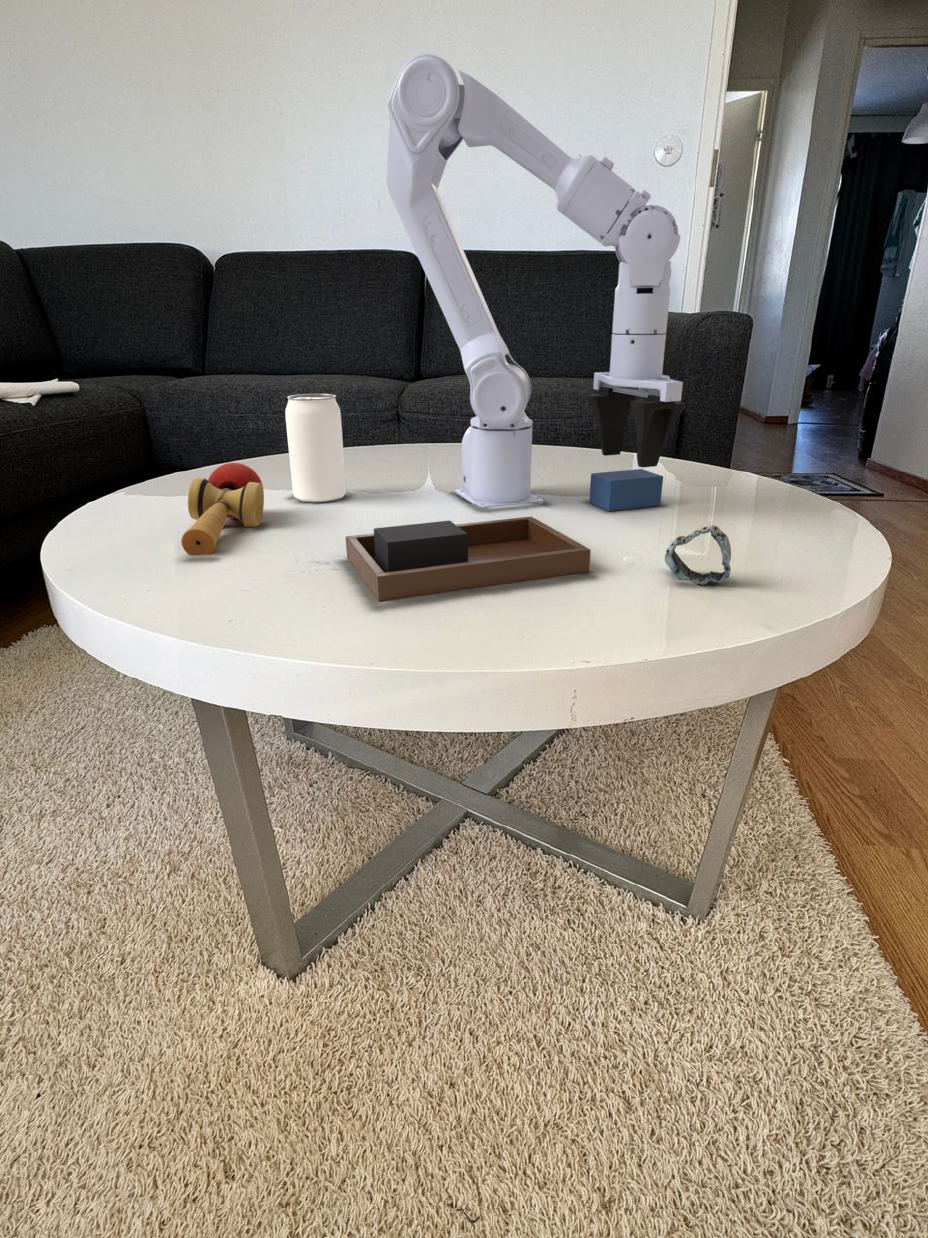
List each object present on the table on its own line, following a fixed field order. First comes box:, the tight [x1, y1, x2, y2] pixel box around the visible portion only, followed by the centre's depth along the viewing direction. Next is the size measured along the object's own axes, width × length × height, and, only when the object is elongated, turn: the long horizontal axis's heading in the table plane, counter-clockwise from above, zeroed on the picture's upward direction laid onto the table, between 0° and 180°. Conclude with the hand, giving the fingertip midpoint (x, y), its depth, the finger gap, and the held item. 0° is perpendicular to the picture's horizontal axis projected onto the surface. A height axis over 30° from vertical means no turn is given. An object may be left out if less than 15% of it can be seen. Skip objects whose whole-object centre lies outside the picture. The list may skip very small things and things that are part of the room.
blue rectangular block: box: [588, 468, 664, 512], centre depth 85 cm, size 4×7×4 cm, turn 111°
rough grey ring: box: [664, 524, 732, 586], centre depth 60 cm, size 3×5×5 cm
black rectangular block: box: [373, 520, 468, 573], centre depth 62 cm, size 4×7×4 cm, turn 111°
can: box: [284, 393, 347, 504], centre depth 87 cm, size 6×6×12 cm
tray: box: [345, 516, 592, 603], centre depth 63 cm, size 12×19×2 cm, turn 111°
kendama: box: [180, 462, 265, 556], centre depth 74 cm, size 8×6×18 cm
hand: (628, 460), depth 83 cm, fingers open, 7 cm apart
